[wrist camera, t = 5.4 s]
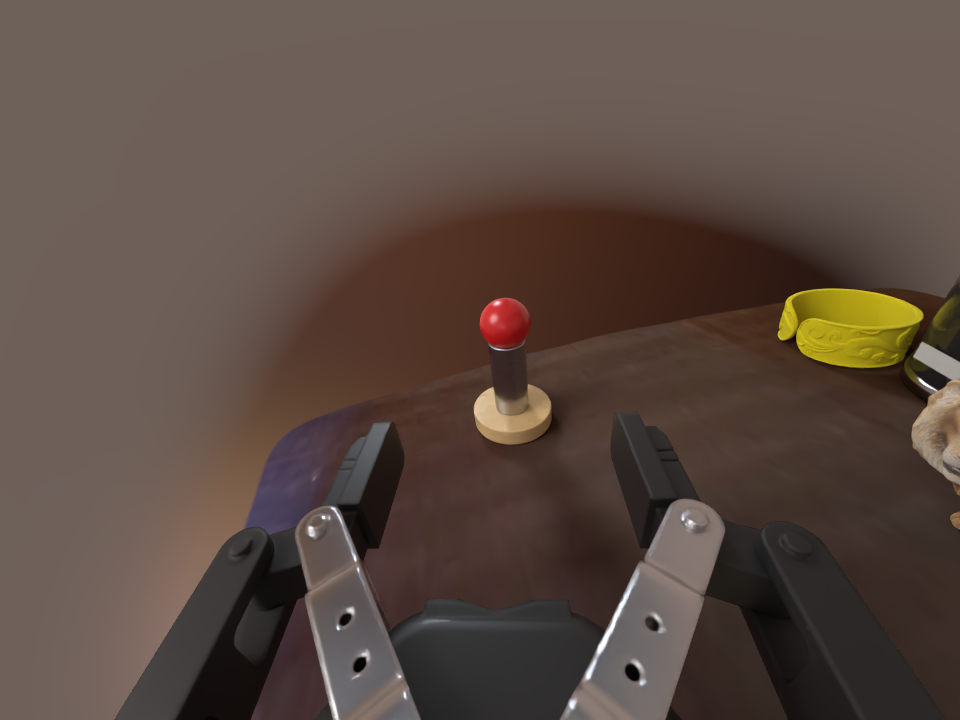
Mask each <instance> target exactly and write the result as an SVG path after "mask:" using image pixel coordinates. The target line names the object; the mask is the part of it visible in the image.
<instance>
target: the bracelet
mask: <svg viewBox="0 0 960 720" xmlns="http://www.w3.org/2000/svg"><path fill="white" fill-rule="evenodd" d="M922 320H923V313H922V311H921V310H919V309H918V308H917V307H915V306H913V305H911V304H909V303H907V302H905V301H902V300H900V299H897V298H894V297H890V296H887V295H883V294H878V293H873V292H867V291H861V290H851V289H819V290H809V291H804V292H799V293H796V294H794V295H792V296H790V297H789V298H788V299H787V300H786V304H785V308H784V311H783V314H782V318H781V321H780V325H779V329H780V331H779V332H778V337H779V338H780V340H784V341H785V340H789V339H791V338H792V337H793V336H794V335H795V334H796V331H797V335H796V342H797V345H798V348H799V349H800V351H801V352H802V353H803V354H805V355H806V356H808V357H810V358H813V359H815V360H818V361H821V362H825V363H828V364H832V365H838V366H844V367H854V368H877V367H885V366H890V365H894V364H897V363H899V362H901V361H902V360H903V359H904V357H905V353H906V352H907V351H908V349H909V347H910V345H911V343H912V341H913V338H914V337H915V335H916V333H917V331H918V330H919V326H920V322H921V321H922ZM799 325H800V326H799ZM798 326H799V328H798ZM797 328H798V330H797Z"/></svg>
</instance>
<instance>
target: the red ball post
mask: <svg viewBox="0 0 960 720" xmlns="http://www.w3.org/2000/svg"><path fill="white" fill-rule="evenodd" d="M530 327H531V321H530V316H529V313H528V311H527V309H526V308H525V307H524V306H523V305H522V304H521V303H520V302H518V301H517V300H514V299H511V298H501V299H497V300H494V301H493V302H491V303H490V304H489V305H487V306H486V308H485V309H484V311H483V313H482V315H481V318H480V329H481V332H482V335H483V337H484V338H485V340H486V341H487V342H488V345H489V353H490V362H491V371H492V380H493V387H492V388H490V389H488V390H486V391H485V392H484V393H482V394H481V395H480V396H479V398H478V399H477V401H476V403H475V406H474V414H475V421H476V426H477V428H478V430H479V431H480V432H481V433H482V435H484V436H485V437H486V438H488V439H489V440H492V441H494V442H497V443H501V444H510V445H514V444H522V443H527V442H530V441H532V440H535V439H536V438H538V437H540V436H541V435H542V434H544V433H545V432H546V430H547V429H548V427H549V426H550V423H551V418H552V416H551V401H550V399H549V397H548V396H547V395H546V394H545V393H544V392H543V391H542V390H541V389H539V388H537V387H535V386H532V385H529V384H528V381H527V363H526V344H525V339H526V337H527V336H528V334H529V331H530Z"/></svg>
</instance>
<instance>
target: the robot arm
mask: <svg viewBox="0 0 960 720" xmlns="http://www.w3.org/2000/svg"><path fill="white" fill-rule="evenodd" d="M900 375H901V378H902V380H903V382H904V383H905V385H906V386H907V387H908V388H909V389H910V390H911V391H912V392H914V393H915V394H916V395H918V396H919V397H920V398H922V399H923V400H925V401H926V402H928V398H929V396H931V395H932V394H934V393H935V392H937V391H939V390H941V389H943V388H944V387H945V386H946V385H947V383H948V382H950V381H953V380H957V379H959V378H960V275H959V277H958V279H957V280H956V282H955V283H954V285H953V287H952V288H951V290H950V292H949V294H948V295H947V297H946V298H945V300H944V302H943V303H942V305H941V307H940V308H939V310H938V312H937V314H936V315H935V317H934V319H933V320H932V321H931V323H930V325H929V326H928V328H927V330H926V332H925V333H924V335H923V337H922V338H921V340H920V342H919V344H918V345H917V347H916V349H915V350H914V352H913V353H911V354H910V355H909V356H908V358H907V359H906V361H905V363H904V365H903V366H902V368H901V370H900ZM611 456H612V461H613V464H614V467H615V470H616V474H617V477H618V480H619V483H620V486H621V489H622V492H623V495H624V498H625V502H626V505H627V508H628V511H629V514H630V517H631V520H632V523H633V526H634V530H635V533H636V536H637V539H638V542H639V545H640V548H649V549H648V551H647V554H646V556H645V557H644V559H641V560H640V562H639V563H638V565H637V567H636V569H635V571H634V573H633V575H632V577H631V579H630V582H629V584H628V586H627V588H626V590H625V592H624V594H623V596H622V598H621V600H620V602H619V604H618V606H617V608H616V610H615V612H614V614H613V617H612V619H611V621H610V623H609V625H608V627H607V629H606V631H605V630H604V629H602V628H601V627H600V626H598V625H597V624H596V623H594V622H592V621H591V620H589V619H587V618H585V617H583V616H581V615H579V614H576V613H572V612H571V610H570V602H569V600H532V601H528V602H525V603H521V604H518V605H514V606H510V607H507V608H503V609H500V610H492V609H489V608H485V607H482V606H479V605H476V604H473V603H469V602H466V601H463V600H460V599H426V600H425V605H424V611H422V612H419V613H416V614H414V615H412V616H410V617H408V618H406V619H405V620H403V621H402V622H400V623H399V624H398V625H396V626H395V627H394V628H392V625H391V623H390V621H389V619H388V617H387V614H386V612H385V610H384V607H383V605H382V602H381V600H380V598H379V595H378V593H377V590H376V588H375V585H374V583H373V580H372V578H371V576H370V573H369V571H368V568H367V566H366V563H365V561H364V557H365V554H366V551H367V549H373V548H379V546H380V543H381V539H382V536H383V533H384V529H385V526H386V523H387V520H388V516H389V513H390V510H391V506H392V503H393V500H394V496H395V493H396V490H397V486H398V483H399V480H400V476H401V473H402V470H403V466H404V451H403V447H402V444H401V441H400V438H399V434H398V431H397V428H396V425H395V423H394V422H380V423H373V424H372V425H371V427H370V430H369V432H368V434H367V436H366V437H359V438H358V439H357V440H356V441H355V442H354V443H353V444H352V445H351V446H350V447H349V449H348V451H347V453H346V456H345V458H344V461H343V462H342V464H341V466H340V468H339V471H338V472H337V474H336V476H335V478H334V480H333V482H332V484H331V486H330V488H329V490H328V492H327V494H326V496H325V498H324V500H323V503H322V505H321V506H320V507H319V508H316V509H314V510H312V511H311V512H309V513H308V514H307V515H306V516H304V517H303V519H302V520H301V521H300V522H299V524H298V526H297V527H294V528H291V529H288V530H285V531H281V532H278V533H275V534H272V535H268V534H267V532H266V531H265V530H264V529H263V528H261V527H250V528H246V529H244V530H242V531H240V532H238V533H236V534H235V535H233V536H232V537H231V538H229V539H228V540H227V541H226V542H225V544H224V545H223V546H222V547H221V549H220V550H219V552H218V553H217V555H216V557H215V558H214V560H213V561H212V563H211V565H210V566H209V568H208V569H207V571H206V573H205V574H204V576H203V577H202V579H201V581H200V582H199V584H198V586H197V587H196V589H195V590H194V592H193V594H192V595H191V597H190V599H189V600H188V602H187V604H186V605H185V607H184V608H183V610H182V611H181V613H180V614H179V616H178V618H177V619H176V621H175V623H174V624H173V626H172V628H171V629H170V631H169V632H168V634H167V636H166V637H165V639H164V640H163V642H162V643H161V645H160V647H159V648H158V650H157V652H156V653H155V655H154V657H153V658H152V660H151V661H150V663H149V664H148V666H147V668H146V669H145V671H144V673H143V674H142V676H141V677H140V679H139V681H138V682H137V684H136V686H135V687H134V689H133V690H132V692H131V693H130V695H129V697H128V698H127V700H126V701H125V703H124V705H123V706H122V708H121V710H120V711H119V713H118V714H117V716H116V718H115V719H114V720H251V717H252V714H253V712H254V709H255V707H256V704H257V702H258V699H259V696H260V694H261V691H262V689H263V686H264V684H265V681H266V678H267V676H268V673H269V671H270V668H271V666H272V663H273V660H274V658H275V655H276V653H277V650H278V648H279V645H280V642H281V640H282V637H283V635H284V632H285V630H286V627H287V624H288V622H289V619H290V617H291V614H292V612H293V609H294V606H295V604H296V601H297V599H300V598H303V597H305V602H306V606H307V611H308V615H309V619H310V623H311V628H312V632H313V636H314V640H315V645H316V649H317V653H318V657H319V662H320V666H321V670H322V674H323V679H324V683H325V687H326V692H327V696H328V700H329V703H328V704H327V705H326V706H325V708H324V709H323V710H322V711H321V712H320V714H319V715H318V716H317V717H316V718H315V719H314V720H682V719H681V718H680V717H679V716H678V715H677V713H676V712H675V711H674V710H673V709H672V708H671V706H670V704H671V701H672V698H673V695H674V692H675V689H676V686H677V682H678V679H679V676H680V673H681V670H682V667H683V664H684V661H685V658H686V655H687V652H688V648H689V645H690V642H691V639H692V636H693V633H694V630H695V627H696V624H697V621H698V618H699V615H700V611H701V608H702V605H703V602H704V598H705V595H708V596H711V597H714V598H717V599H720V600H723V601H726V602H729V603H732V604H735V605H738V606H740V609H741V611H742V613H743V616H744V618H745V620H746V623H747V625H748V627H749V630H750V632H751V634H752V637H753V639H754V641H755V644H756V646H757V648H758V651H759V653H760V655H761V658H762V660H763V662H764V664H765V667H766V669H767V671H768V674H769V676H770V678H771V681H772V683H773V685H774V688H775V690H776V692H777V695H778V697H779V699H780V702H781V704H782V706H783V709H784V711H785V713H786V716H787V718H788V720H946V718H945V717H944V715H943V714H942V712H941V711H940V710H939V708H938V707H937V705H936V704H935V702H934V701H933V700H932V698H931V697H930V695H929V694H928V692H927V691H926V689H925V688H924V687H923V685H922V684H921V682H920V681H919V679H918V678H917V677H916V675H915V674H914V672H913V671H912V669H911V668H910V667H909V665H908V664H907V662H906V661H905V659H904V658H903V656H902V655H901V654H900V652H899V651H898V649H897V648H896V646H895V645H894V644H893V642H892V641H891V639H890V638H889V636H888V635H887V633H886V632H885V631H884V629H883V628H882V626H881V625H880V623H879V622H878V621H877V619H876V618H875V616H874V615H873V613H872V612H871V610H870V609H869V608H868V606H867V605H866V603H865V602H864V600H863V599H862V598H861V596H860V595H859V593H858V592H857V590H856V589H855V588H854V586H853V585H852V583H851V582H850V580H849V579H848V577H847V576H846V575H845V573H844V572H843V570H842V569H841V567H840V566H839V565H838V563H837V562H836V560H835V559H834V557H833V556H832V554H831V553H830V552H829V550H828V549H827V547H826V546H825V545H824V544H823V542H822V541H821V540H820V539H819V538H817V537H816V536H815V535H814V534H812V533H811V532H809V531H808V530H806V529H804V528H802V527H800V526H798V525H795V524H792V523H788V522H782V521H775V522H770V523H768V524H766V525H765V526H764V528H763V529H762V530H758V529H754V528H750V527H746V526H742V525H738V524H734V523H731V522H728V521H726V520H723V519H722V518H721V517H720V516H719V515H718V514H717V513H716V511H714V510H713V509H712V508H711V507H709V506H708V505H706V504H704V503H702V502H701V500H700V499H699V497H698V495H697V493H696V491H695V489H694V487H693V485H692V483H691V481H690V480H689V478H688V476H687V474H686V472H685V470H684V468H683V466H682V464H681V462H679V459H678V457H677V455H676V453H675V451H674V450H673V447H672V445H671V443H670V441H669V439H668V438H667V436H666V435H665V434H663V433H662V432H661V431H660V430H659V429H658V428H657V427H656V426H646V427H645V425H644V423H643V421H642V419H641V417H640V415H639V413H638V412H623V413H615V414H614V418H613V427H612V437H611Z"/></svg>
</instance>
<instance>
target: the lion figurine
mask: <svg viewBox="0 0 960 720" xmlns="http://www.w3.org/2000/svg"><path fill="white" fill-rule="evenodd" d="M912 440H913V448H914V449H916V450H917V451H918V452H919V454H920V455H921V456H922V458H924V459H925V460H926V461H927V462H928V463H929V464H930V465H931V466H933V467H934V468H935V469H936V470H938V471H939V472H940V473H942V474H943V475H944V476H945V477H946V478H947V479H948V480H950V481H952V484H953V486H954V489H955V491H956V493H957V494H958V495H959V496H960V378H959V379H957V380H953V381H950V382H948V383H947V385H946V386H945V387H944V388H943V389H941V390H939V391H937V392H935V393H934V394H932V395H931V396H929V398H928V404H927V407H926V408H925V409H924V410H923V411H922V413H921V414H920V415H919V416H918V418H917V419H916V421H915V423H914V424H913V428H912ZM950 520H951V522H952V524H953V526H954V527H956V528H957V529H959V530H960V512H956V513H954V514H952V515H951V516H950Z"/></svg>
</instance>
